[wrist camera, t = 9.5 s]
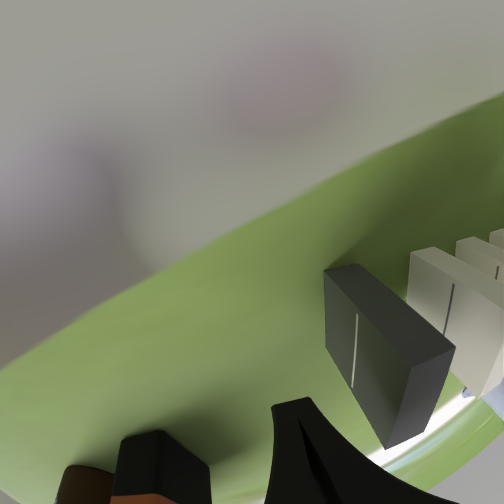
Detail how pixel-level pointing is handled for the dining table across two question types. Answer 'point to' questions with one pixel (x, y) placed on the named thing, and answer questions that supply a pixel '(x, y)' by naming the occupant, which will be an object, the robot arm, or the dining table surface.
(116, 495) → the battery
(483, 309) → the domino
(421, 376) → the domino
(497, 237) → the domino
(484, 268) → the domino
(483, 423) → the dining table surface
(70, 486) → the olive oil
